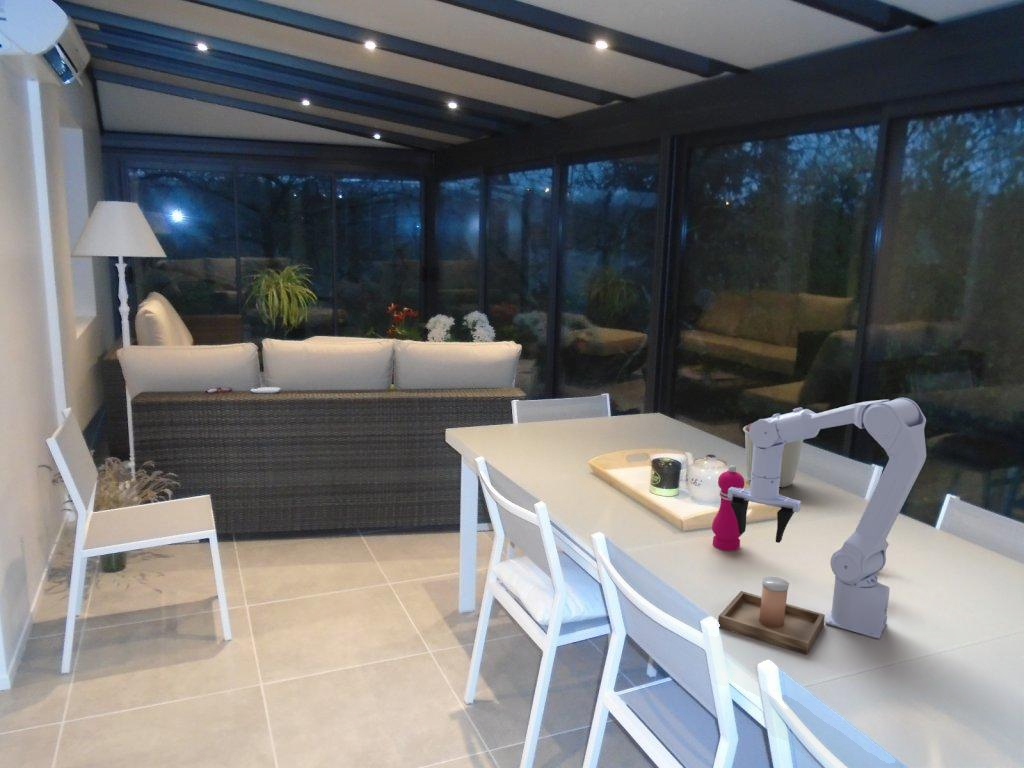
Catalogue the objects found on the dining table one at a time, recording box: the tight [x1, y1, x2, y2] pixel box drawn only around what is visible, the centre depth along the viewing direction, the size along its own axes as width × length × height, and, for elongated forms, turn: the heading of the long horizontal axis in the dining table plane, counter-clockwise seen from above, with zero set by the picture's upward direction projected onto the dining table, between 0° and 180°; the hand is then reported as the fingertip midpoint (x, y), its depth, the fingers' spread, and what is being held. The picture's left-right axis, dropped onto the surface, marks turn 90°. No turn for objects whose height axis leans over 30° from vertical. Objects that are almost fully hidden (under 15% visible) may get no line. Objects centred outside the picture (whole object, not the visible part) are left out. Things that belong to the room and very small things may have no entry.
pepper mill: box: [711, 464, 745, 552], centre depth 175 cm, size 7×7×20 cm
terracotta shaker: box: [759, 576, 790, 628], centre depth 138 cm, size 5×5×8 cm
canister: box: [742, 415, 804, 488], centre depth 224 cm, size 18×18×21 cm
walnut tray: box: [717, 590, 826, 656], centre depth 139 cm, size 16×13×2 cm
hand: (760, 536), depth 155 cm, fingers open, 7 cm apart
